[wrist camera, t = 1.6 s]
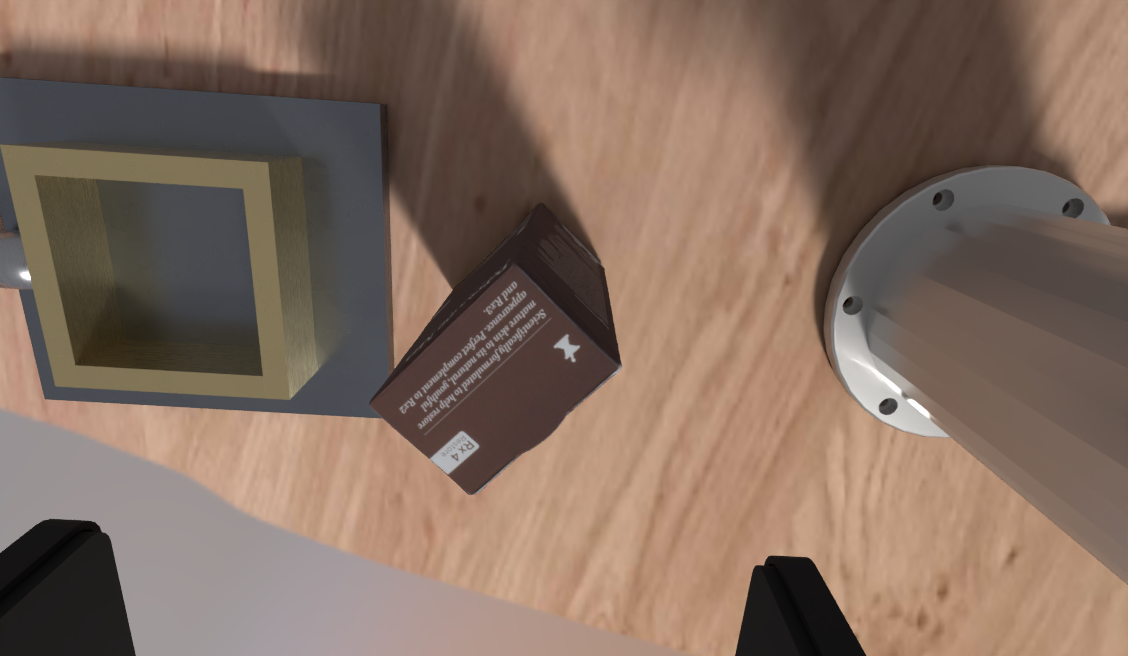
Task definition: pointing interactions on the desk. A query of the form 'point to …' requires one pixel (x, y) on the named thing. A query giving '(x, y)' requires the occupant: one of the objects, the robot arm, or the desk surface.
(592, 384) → the box
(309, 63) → the desk surface
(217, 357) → the square socket base
